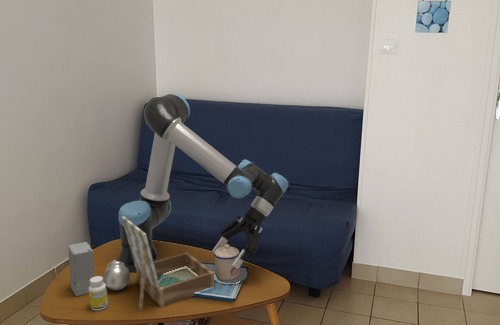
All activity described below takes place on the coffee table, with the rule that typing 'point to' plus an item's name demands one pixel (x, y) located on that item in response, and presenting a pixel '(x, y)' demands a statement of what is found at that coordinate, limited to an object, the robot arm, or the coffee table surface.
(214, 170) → the robot arm
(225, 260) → the teacup with lid
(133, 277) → the coffee table surface
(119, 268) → the silver metal rounded piece
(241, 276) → the trivet
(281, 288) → the coffee table surface
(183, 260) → the open wooden keepsake box
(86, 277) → the skincare box
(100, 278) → the supplement bottle
